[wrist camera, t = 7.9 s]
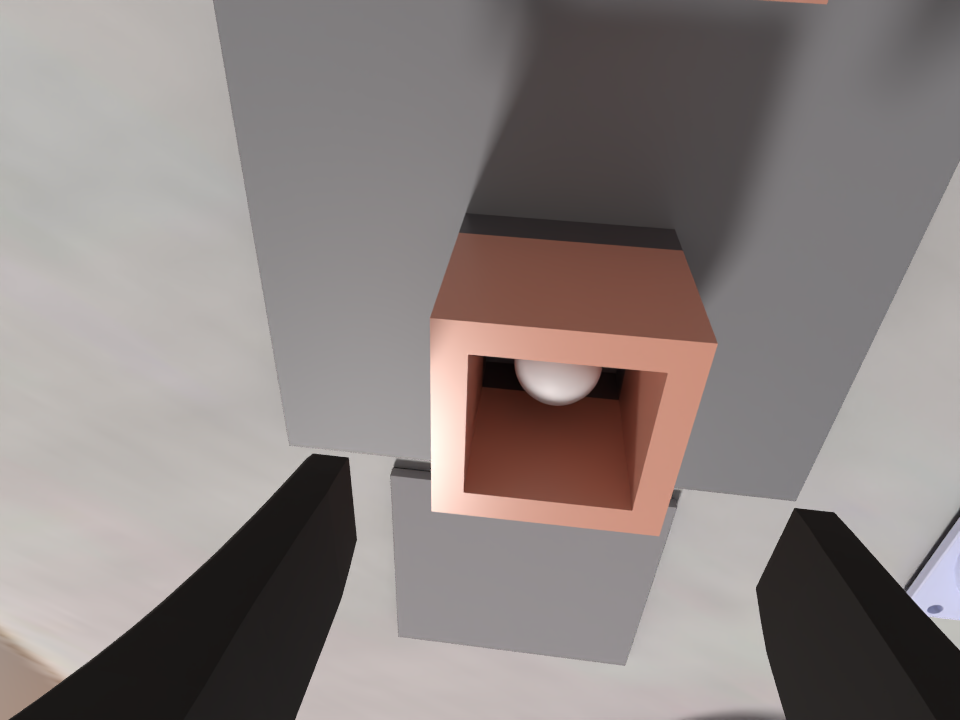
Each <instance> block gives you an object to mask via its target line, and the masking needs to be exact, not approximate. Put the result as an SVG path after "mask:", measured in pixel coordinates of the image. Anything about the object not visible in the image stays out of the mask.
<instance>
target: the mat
mask: <svg viewBox="0 0 960 720" xmlns="http://www.w3.org/2000/svg"><path fill="white" fill-rule="evenodd" d="M390 479H391V499H392V520H393V540H394V560H395V580H396V601H397V621H398V637H404V638H412V639H420V640H428V641H436V642H444V643H451V644H459V645H467V646H475V647H483V648H490V649H498V650H506V651H514V652H522V653H530V654H537V655H545V656H553V657H561V658H569V659H576V660H584V661H592V662H600V663H608V664H616V665H623V666H625V665H626V662H627V659H628V655H629V652H630V649H631V646H632V643H633V640H634V637H635V634H636V631H637V628H638V625H639V622H640V619H641V616H642V613H643V610H644V607H645V604H646V601H647V598H648V595H649V592H650V588H651V585H652V582H653V579H654V576H655V573H656V570H657V567H658V564H659V561H660V558H661V555H662V552H663V549H664V546H665V543H666V540H667V537H668V534H669V531H670V528H671V525H672V521H673V518H674V515H675V512H676V509H677V505H676V500H675V499H670V503H669V506H668V509H667V513H666V516H665V519H664V522H663V526H662V529H661V532H660V536H651V535H642V534H633V533H624V532H615V531H606V530H597V529H587V528H578V527H569V526H560V525H551V524H542V523H533V522H524V521H515V520H505V519H496V518H487V517H478V516H469V515H460V514H451V513H442V512H433V511H431V472H427V471H418V470H409V469H400V468H393V469H392V472H391V475H390Z"/></svg>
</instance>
